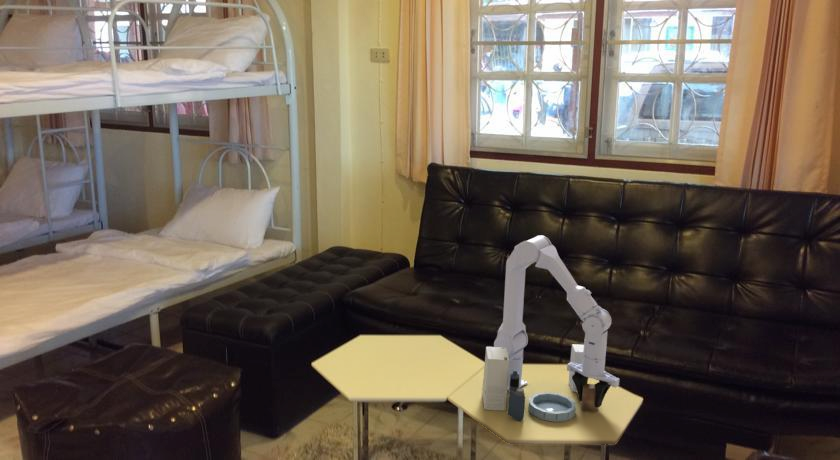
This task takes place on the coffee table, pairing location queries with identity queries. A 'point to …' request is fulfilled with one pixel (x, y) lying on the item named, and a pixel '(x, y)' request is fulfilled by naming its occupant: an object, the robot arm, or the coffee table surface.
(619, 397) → the coffee table surface
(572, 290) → the robot arm
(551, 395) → the round tray
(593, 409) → the brown cylinder
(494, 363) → the skincare box
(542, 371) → the coffee table surface
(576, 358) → the skincare box
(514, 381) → the vaping device
